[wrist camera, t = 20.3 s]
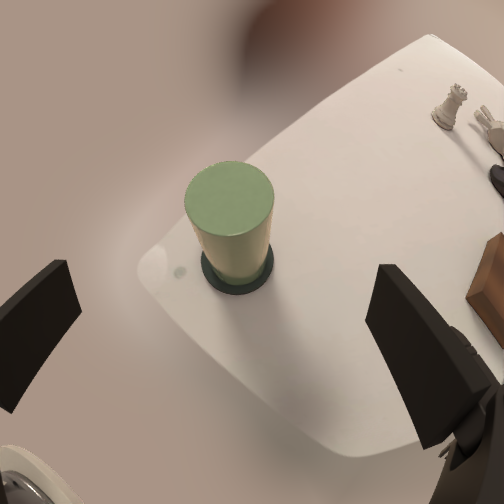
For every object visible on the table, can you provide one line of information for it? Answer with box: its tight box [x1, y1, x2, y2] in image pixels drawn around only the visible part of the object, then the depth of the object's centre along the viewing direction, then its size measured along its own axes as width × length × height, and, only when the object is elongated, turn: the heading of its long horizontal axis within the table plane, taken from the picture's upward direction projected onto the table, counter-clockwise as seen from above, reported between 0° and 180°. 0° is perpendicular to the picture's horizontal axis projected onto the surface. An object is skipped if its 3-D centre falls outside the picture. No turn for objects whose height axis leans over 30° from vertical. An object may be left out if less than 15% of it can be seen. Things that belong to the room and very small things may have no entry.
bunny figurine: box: [474, 105, 504, 158], centre depth 30 cm, size 10×5×15 cm
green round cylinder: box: [184, 161, 274, 285], centre depth 19 cm, size 5×5×10 cm
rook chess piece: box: [432, 84, 467, 130], centre depth 29 cm, size 4×4×8 cm
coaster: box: [201, 244, 273, 295], centre depth 24 cm, size 6×6×1 cm
